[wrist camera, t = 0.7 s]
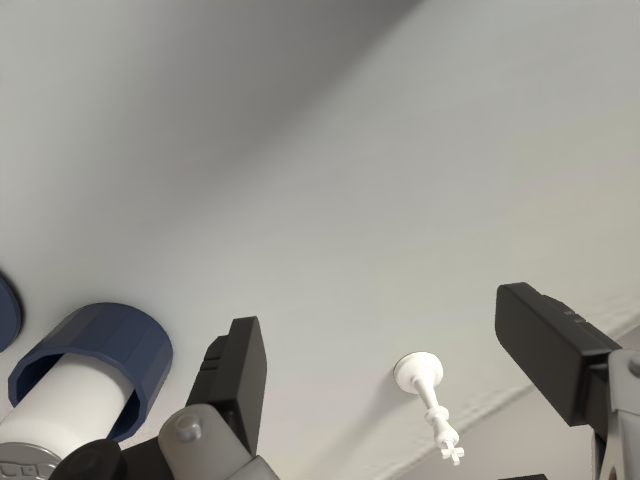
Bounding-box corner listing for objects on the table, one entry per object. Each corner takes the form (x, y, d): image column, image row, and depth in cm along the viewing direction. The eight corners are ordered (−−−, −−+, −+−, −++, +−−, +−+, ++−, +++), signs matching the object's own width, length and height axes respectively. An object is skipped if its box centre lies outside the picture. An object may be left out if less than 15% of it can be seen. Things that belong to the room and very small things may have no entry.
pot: (41, 309, 32) (-17, 356, 26) (155, 296, 32) (123, 339, 26) (82, 397, 36) (40, 454, 30) (184, 384, 36) (161, 439, 30)
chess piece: (440, 386, 38) (486, 480, 28) (394, 391, 38) (424, 487, 28) (441, 349, 36) (490, 436, 27) (393, 354, 36) (425, 444, 27)
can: (152, 380, 35) (83, 510, 24) (83, 375, 35) (-20, 506, 24) (149, 325, 33) (71, 441, 22) (75, 319, 32) (-44, 436, 21)
